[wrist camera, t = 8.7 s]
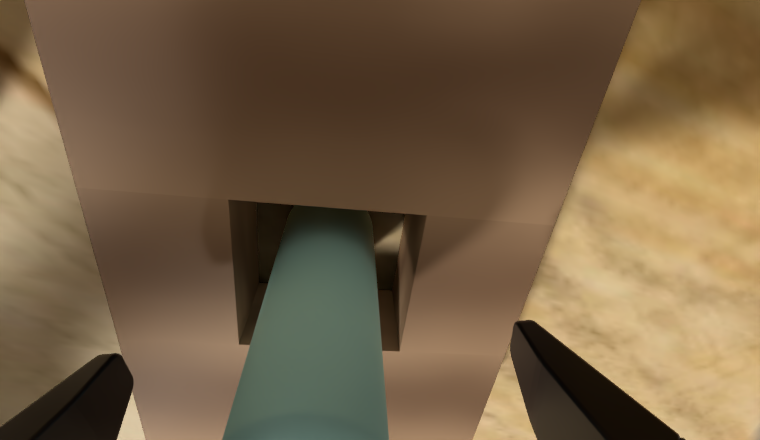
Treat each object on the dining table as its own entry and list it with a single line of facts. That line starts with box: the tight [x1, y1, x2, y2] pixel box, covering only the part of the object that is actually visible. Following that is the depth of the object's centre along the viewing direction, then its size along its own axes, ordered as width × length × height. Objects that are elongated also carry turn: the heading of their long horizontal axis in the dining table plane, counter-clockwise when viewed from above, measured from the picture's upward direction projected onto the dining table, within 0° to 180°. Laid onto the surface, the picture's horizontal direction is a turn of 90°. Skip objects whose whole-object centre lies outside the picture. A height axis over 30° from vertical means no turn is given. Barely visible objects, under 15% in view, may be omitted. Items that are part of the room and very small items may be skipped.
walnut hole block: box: [24, 0, 641, 440], centre depth 13 cm, size 16×12×3 cm
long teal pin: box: [222, 205, 389, 440], centre depth 11 cm, size 3×3×8 cm
